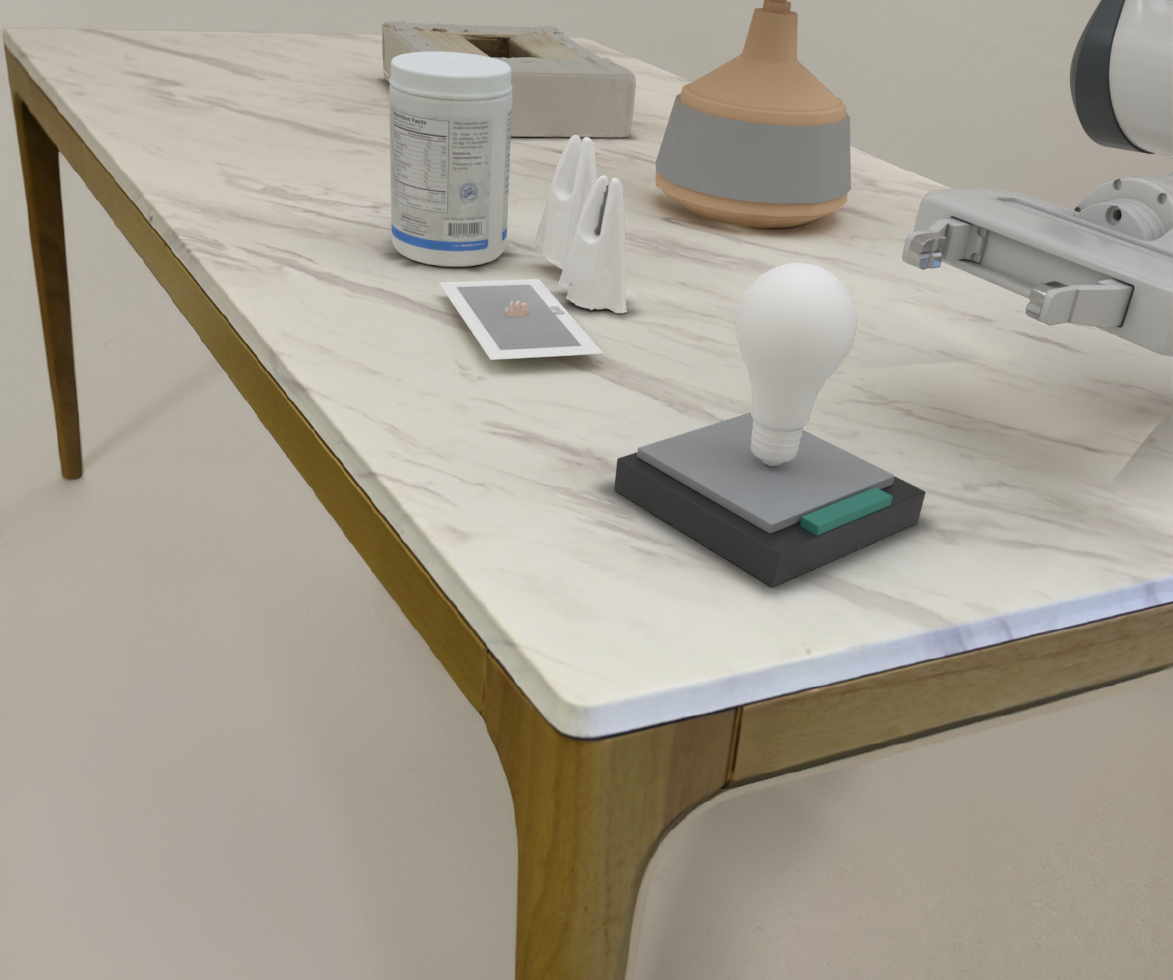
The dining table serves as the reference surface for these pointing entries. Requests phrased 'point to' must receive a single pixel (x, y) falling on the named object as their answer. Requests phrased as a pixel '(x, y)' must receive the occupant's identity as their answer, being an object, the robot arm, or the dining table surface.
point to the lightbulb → (791, 350)
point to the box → (534, 75)
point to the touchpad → (518, 319)
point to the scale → (767, 498)
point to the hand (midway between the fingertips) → (971, 277)
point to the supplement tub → (449, 157)
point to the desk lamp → (758, 135)
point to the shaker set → (585, 230)
